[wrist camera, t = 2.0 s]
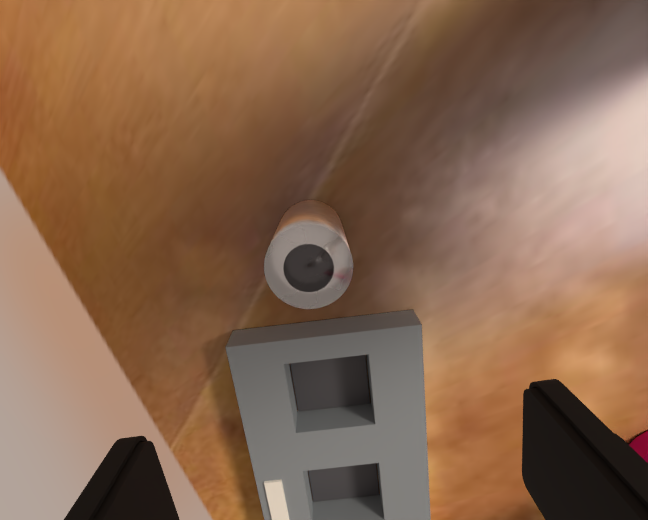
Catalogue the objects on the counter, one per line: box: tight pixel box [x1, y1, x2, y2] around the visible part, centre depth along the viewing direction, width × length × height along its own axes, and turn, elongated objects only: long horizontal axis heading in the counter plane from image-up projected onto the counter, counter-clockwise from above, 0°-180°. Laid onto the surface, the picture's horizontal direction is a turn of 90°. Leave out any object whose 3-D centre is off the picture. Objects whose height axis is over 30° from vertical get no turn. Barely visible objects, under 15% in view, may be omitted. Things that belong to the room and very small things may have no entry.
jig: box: [226, 310, 430, 520], centre depth 31 cm, size 20×14×3 cm
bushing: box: [264, 200, 353, 309], centre depth 23 cm, size 5×5×8 cm
